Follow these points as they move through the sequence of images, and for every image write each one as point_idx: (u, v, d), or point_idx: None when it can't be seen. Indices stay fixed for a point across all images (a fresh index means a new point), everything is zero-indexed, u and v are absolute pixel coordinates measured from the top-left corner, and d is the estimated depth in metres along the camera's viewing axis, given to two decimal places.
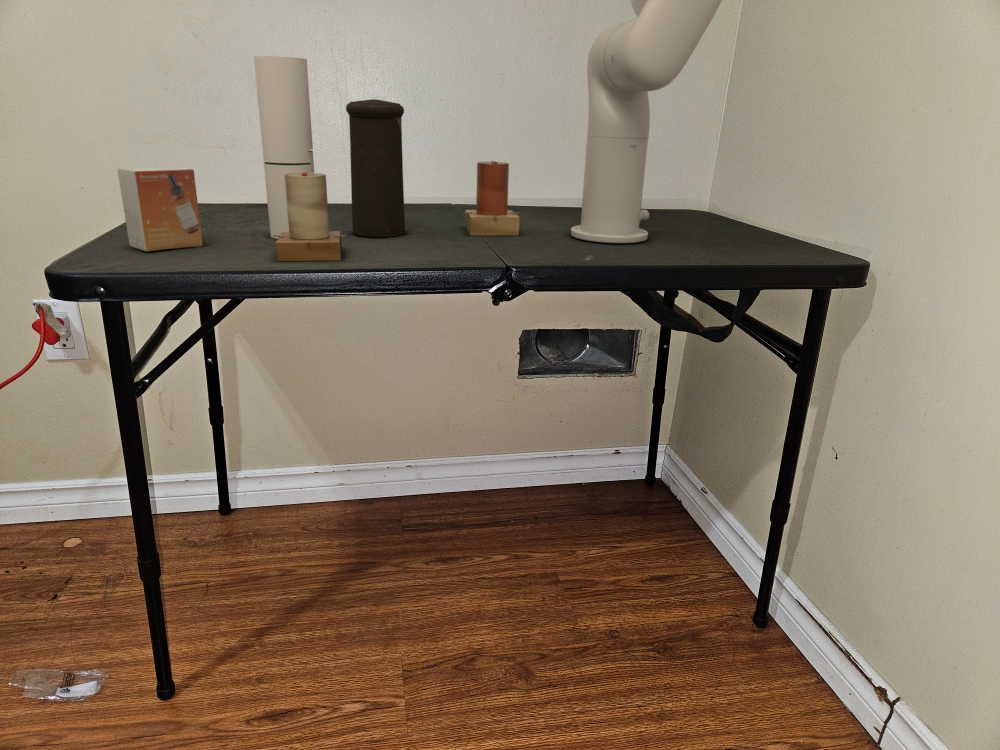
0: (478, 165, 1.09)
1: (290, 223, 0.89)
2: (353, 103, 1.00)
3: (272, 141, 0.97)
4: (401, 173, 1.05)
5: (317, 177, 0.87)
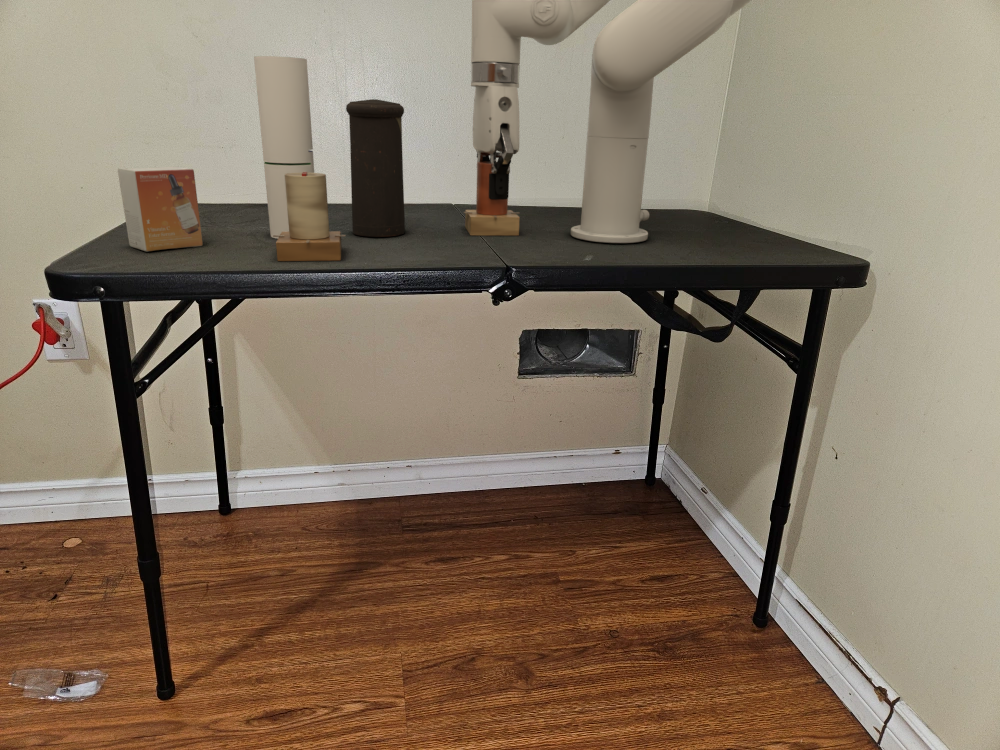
0: (478, 165, 1.09)
1: (290, 223, 0.89)
2: (353, 103, 1.00)
3: (272, 141, 0.97)
4: (401, 173, 1.05)
5: (317, 177, 0.87)
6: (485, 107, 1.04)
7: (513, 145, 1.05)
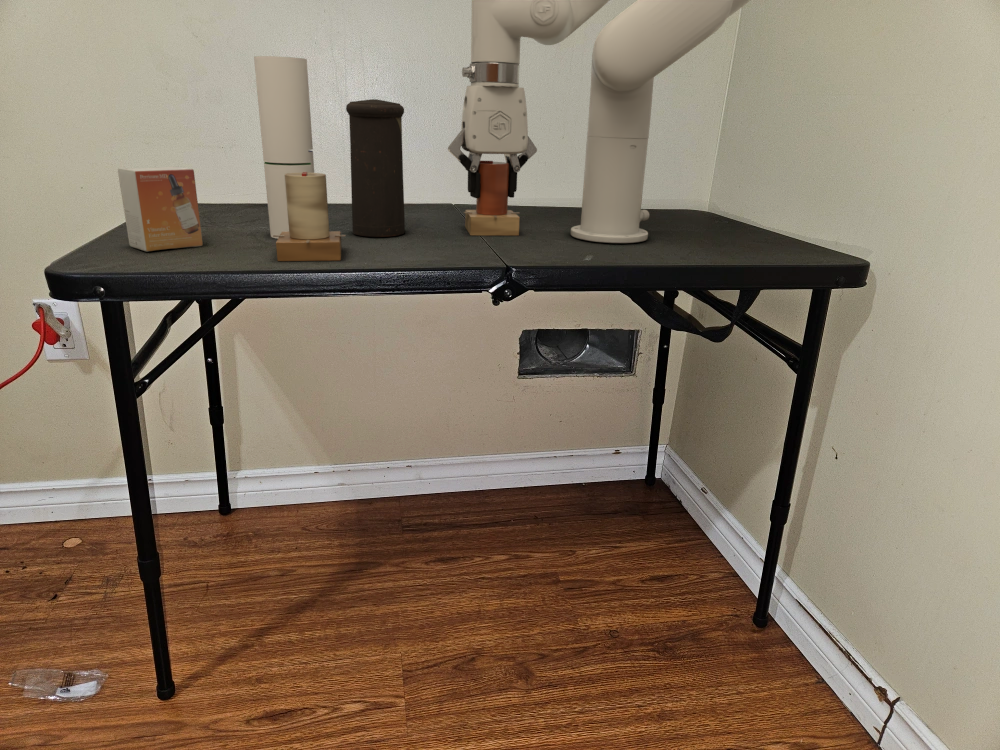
0: None
1: (290, 223, 0.89)
2: (353, 103, 1.00)
3: (272, 141, 0.97)
4: (401, 173, 1.05)
5: (317, 177, 0.87)
6: None
7: (466, 143, 1.06)
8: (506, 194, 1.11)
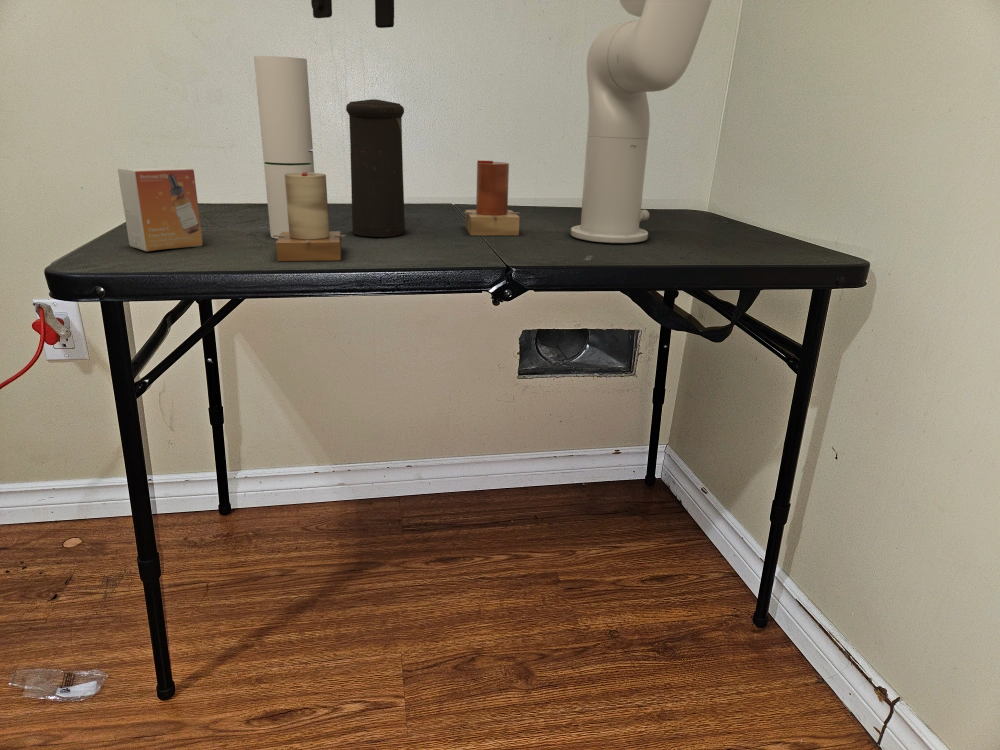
0: None
1: (290, 223, 0.89)
2: (353, 103, 1.00)
3: (272, 141, 0.97)
4: (401, 173, 1.05)
5: (317, 177, 0.87)
6: None
7: None
8: (506, 194, 1.11)
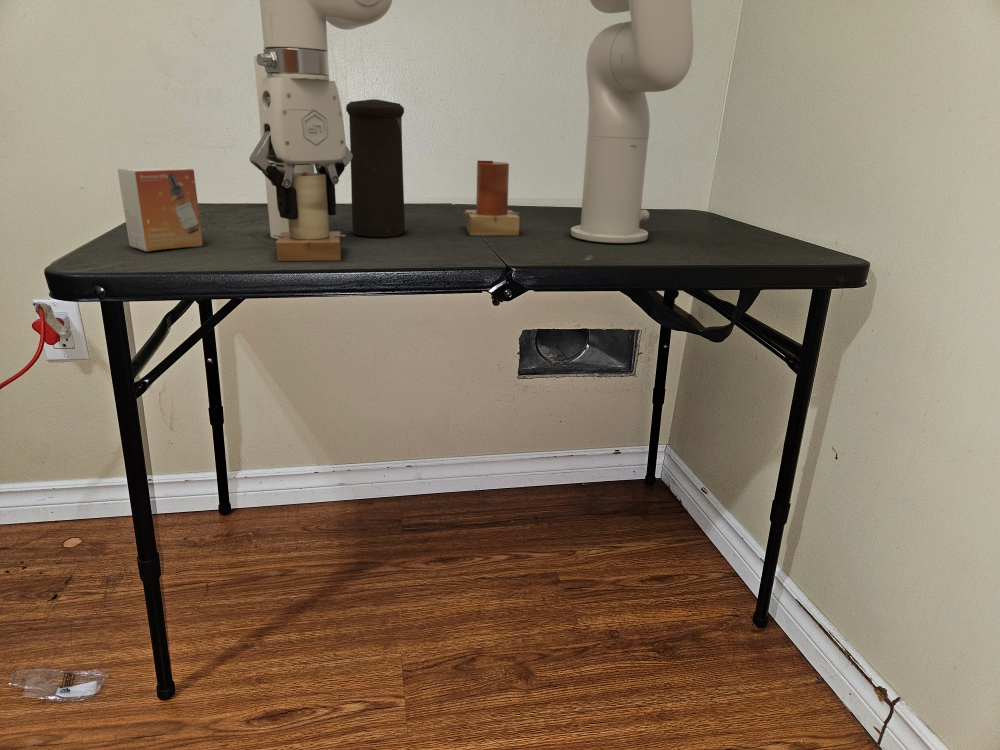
0: None
1: (290, 223, 0.89)
2: (353, 103, 1.00)
3: None
4: (401, 173, 1.05)
5: (317, 177, 0.87)
6: None
7: (275, 152, 0.83)
8: (506, 194, 1.11)
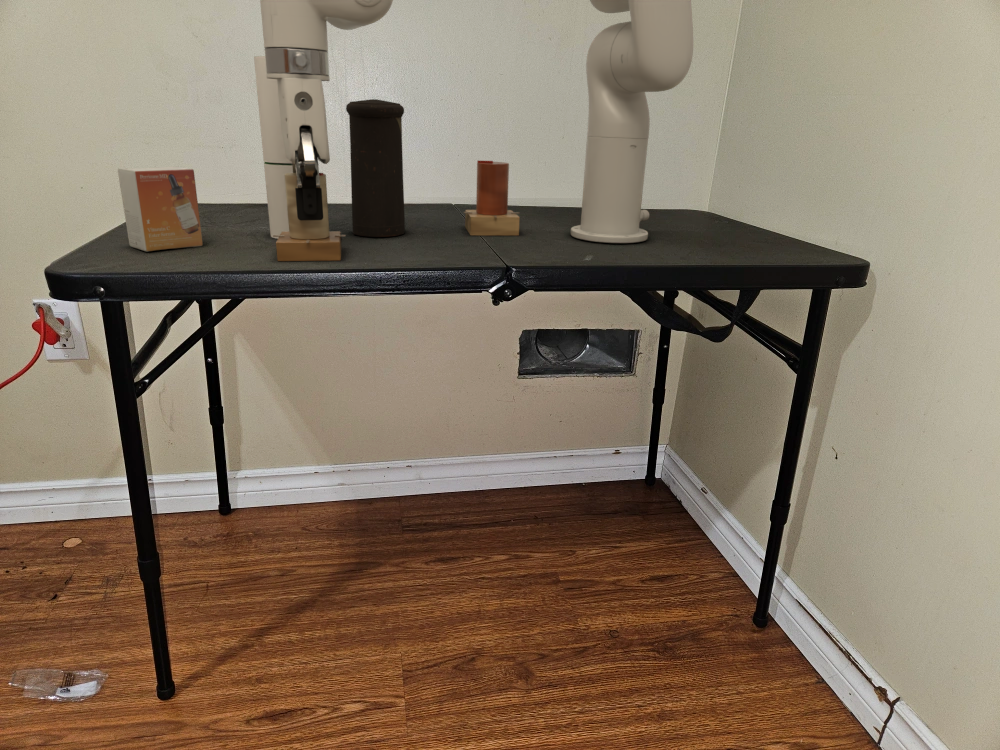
0: None
1: (307, 225, 0.88)
2: (353, 103, 1.00)
3: (272, 141, 0.97)
4: (401, 173, 1.05)
5: (325, 175, 0.90)
6: (282, 105, 0.83)
7: (319, 153, 0.84)
8: (506, 194, 1.11)
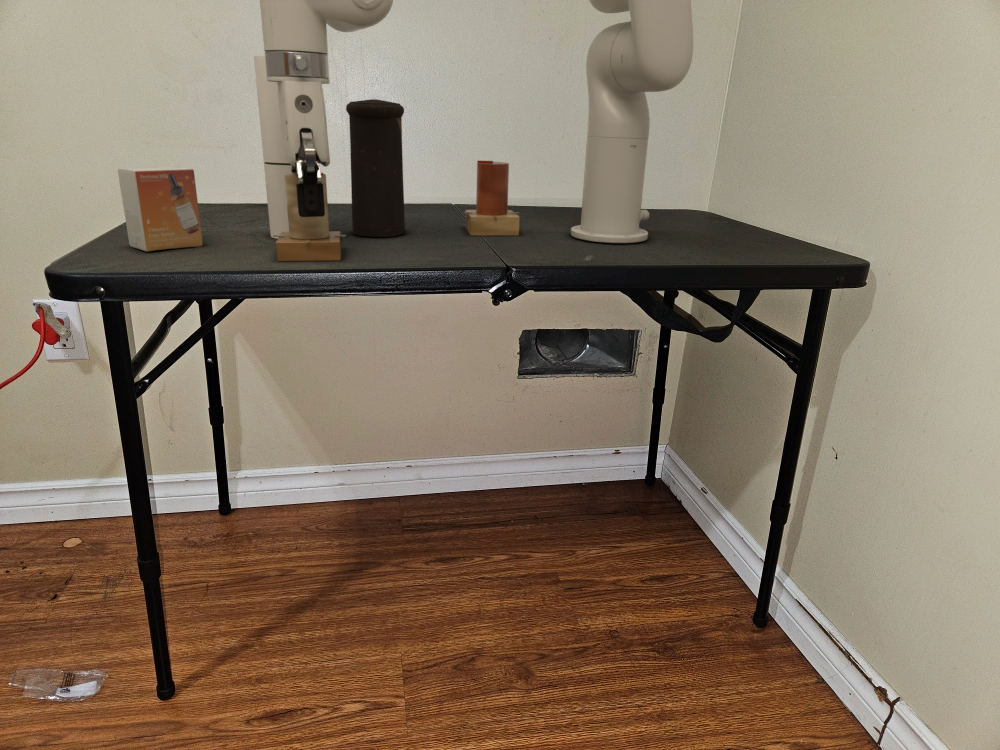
0: None
1: (307, 225, 0.88)
2: (353, 103, 1.00)
3: (272, 141, 0.97)
4: (401, 173, 1.05)
5: (325, 175, 0.90)
6: (282, 108, 0.83)
7: (320, 156, 0.84)
8: (506, 194, 1.11)
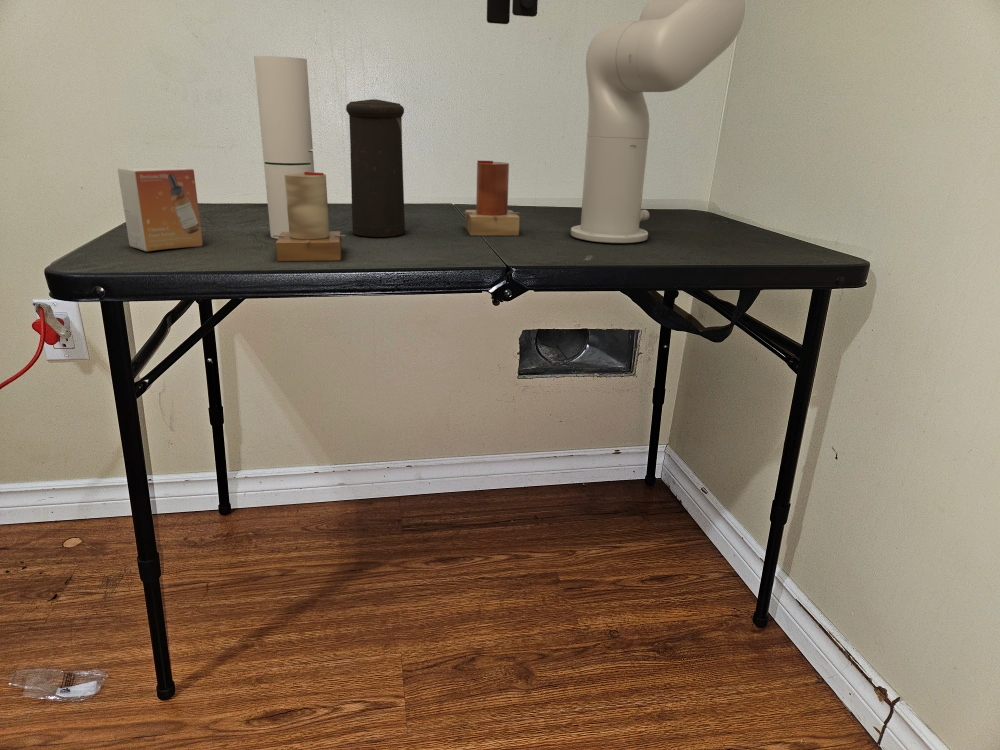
0: None
1: (307, 225, 0.88)
2: (353, 103, 1.00)
3: (272, 141, 0.97)
4: (401, 173, 1.05)
5: (325, 175, 0.90)
6: None
7: None
8: (506, 194, 1.11)
